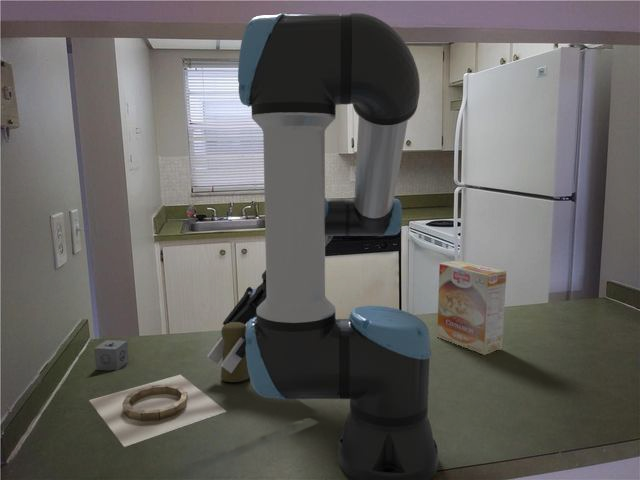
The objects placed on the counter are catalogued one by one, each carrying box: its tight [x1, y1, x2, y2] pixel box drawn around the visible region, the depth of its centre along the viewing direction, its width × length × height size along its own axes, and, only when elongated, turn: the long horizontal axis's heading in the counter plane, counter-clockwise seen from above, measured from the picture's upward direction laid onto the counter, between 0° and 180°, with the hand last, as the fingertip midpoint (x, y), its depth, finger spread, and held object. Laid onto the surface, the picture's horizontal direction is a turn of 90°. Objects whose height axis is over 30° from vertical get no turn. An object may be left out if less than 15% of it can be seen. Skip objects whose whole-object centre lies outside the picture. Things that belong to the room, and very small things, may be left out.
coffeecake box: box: [436, 259, 507, 354], centre depth 126 cm, size 15×7×20 cm, turn 33°
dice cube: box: [93, 339, 130, 372], centre depth 115 cm, size 5×5×5 cm
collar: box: [122, 384, 188, 421], centre depth 94 cm, size 11×11×2 cm
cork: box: [220, 322, 250, 383], centre depth 105 cm, size 6×6×11 cm
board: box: [88, 374, 228, 448], centre depth 94 cm, size 20×18×1 cm
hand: (218, 364), depth 103 cm, fingers closed on cork, 5 cm apart
